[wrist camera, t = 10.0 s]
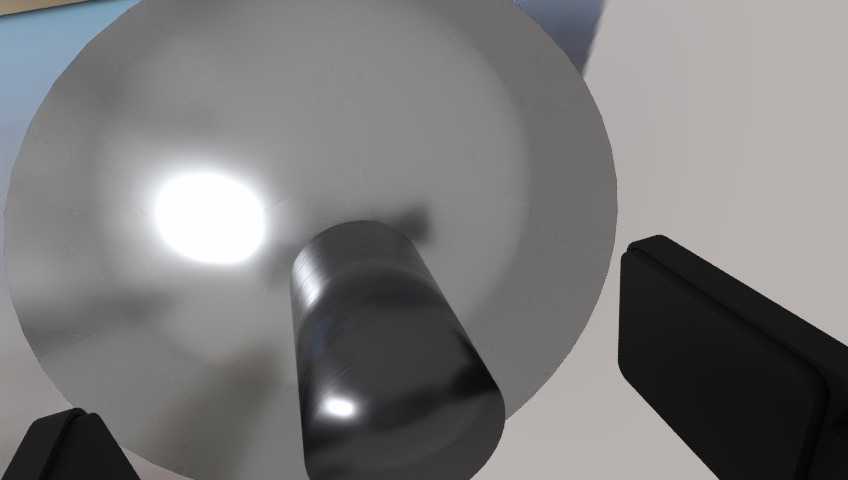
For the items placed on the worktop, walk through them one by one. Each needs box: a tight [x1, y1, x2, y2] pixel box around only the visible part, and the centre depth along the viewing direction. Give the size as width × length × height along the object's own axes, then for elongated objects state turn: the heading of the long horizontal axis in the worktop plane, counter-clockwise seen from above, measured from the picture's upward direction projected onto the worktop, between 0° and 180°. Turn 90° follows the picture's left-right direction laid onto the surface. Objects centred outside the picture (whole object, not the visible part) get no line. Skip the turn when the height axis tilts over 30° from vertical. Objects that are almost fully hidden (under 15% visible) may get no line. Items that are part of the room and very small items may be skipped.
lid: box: [4, 0, 618, 480], centre depth 11 cm, size 14×14×6 cm
